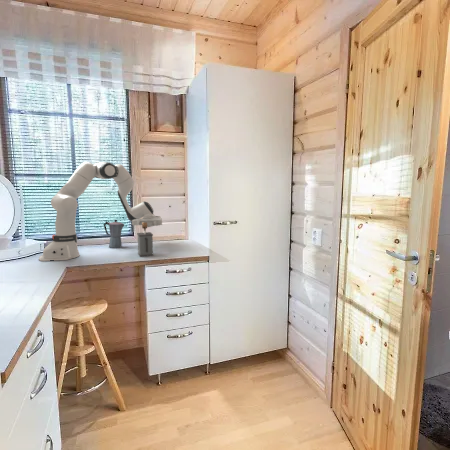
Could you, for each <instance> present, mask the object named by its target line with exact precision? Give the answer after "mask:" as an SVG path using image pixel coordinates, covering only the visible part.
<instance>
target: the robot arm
mask: <svg viewBox="0 0 450 450" xmlns="http://www.w3.org/2000/svg"><path fill="white" fill-rule="evenodd" d="M95 178H97V179H101V180H110V179H113V180H114V181H115V184H116V185H117V188H118V189H117V196H118V198H119V201H120V203H121V206H122V208H123V209H124V212H125V213H126V217H127V219H128V221H130V222H131V225H132V226H142V222H147V228H152V227H155V226H156V227H157V226H163V219H162V218H161V216H160V215H155V214H154V208H153V207H152V205H151V204H150V203H149V202H147V201H141V202H140V203H138V204H136V205H134V206H132V207H130V204H129V202H128V200H127V198H128V197H127V196H128V195H129V194H130V193H131V191H132V190H133V189H134V186H135V181H134V179H133V177H132V175H131V174H130V172H129V171H128V170H127V168H126V167H125V166H124V165H123V164H119V163H116V164H113V163H111V162H109V161H108V162H107V161H100V162H95V163H91V162H89V161H83V162H82V163H81V164H80V165H79V166H78V167H77V168H76V169H75V170H74V172H73V173H72V175H71V176H70V177H69V179H68V180H67V182H66V183H65V184H64V185H63V186H62V187H61V188H60V189H58V191H57V192H56V193H55V195H54V196H53V197H52V198H51V199H50V205H51V207H52V208H53V209H54V210H55V211H56V215H55V217H56V218H55V221H54V228H55V234H52V235H51V237H52V238H51V239H52V241H51V242H50V243H49V244H48V245H46V246H45V247H44V249H43V251H42V255H40V256H39V257H38V260H39V261H40V262H50V260H54V261H68V260H71V259H75V258H79V257H80V255H81V254H80V252H79V249H78V235H77V232H76V230H77V229H76V216H77V209H78V207H79V204H78V200H77V199H78V198H79V197H80V196H82V195H83V194H84V193H85V191H86V189H87V188H88V187H89V186H90V184H91V182H92V181H93V179H95Z"/></svg>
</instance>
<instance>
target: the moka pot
mask: <svg viewBox="0 0 450 450" xmlns="http://www.w3.org/2000/svg"><path fill="white" fill-rule="evenodd" d="M107 225H108V227H109V228H108V229H109V232H108V230H107ZM124 226H125V223H123V222H118V220H117V219H114V221H111V222H109V221H105V222H104V224H103V227H104V228H103V229H104V230H105V233H106V235H107V236H110V238H109V244H108V247H109V248H112V249H119V248H122V246H123V244H122V230H123V228H124Z"/></svg>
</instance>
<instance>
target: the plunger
mask: <svg viewBox="0 0 450 450" xmlns="http://www.w3.org/2000/svg"><path fill="white" fill-rule="evenodd" d="M141 228H142V229H143V233H144V234H146V232H147V229H148V227H147V222H142V225H141Z"/></svg>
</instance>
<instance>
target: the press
mask: <svg viewBox="0 0 450 450" xmlns="http://www.w3.org/2000/svg"><path fill="white" fill-rule="evenodd" d="M136 235H137V255H138V256H139V257H140V258H141V257H142V258H143V257H153V256H154V250H153V249H154V246H153V245H154V243H153V236H154V234H153V233H152V232H149V231H146V234H144V232H137V234H136Z"/></svg>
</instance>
